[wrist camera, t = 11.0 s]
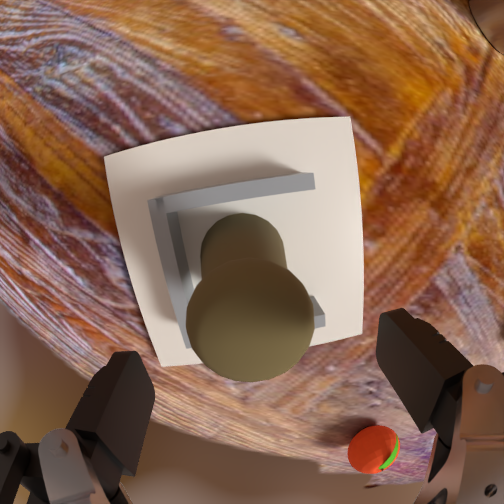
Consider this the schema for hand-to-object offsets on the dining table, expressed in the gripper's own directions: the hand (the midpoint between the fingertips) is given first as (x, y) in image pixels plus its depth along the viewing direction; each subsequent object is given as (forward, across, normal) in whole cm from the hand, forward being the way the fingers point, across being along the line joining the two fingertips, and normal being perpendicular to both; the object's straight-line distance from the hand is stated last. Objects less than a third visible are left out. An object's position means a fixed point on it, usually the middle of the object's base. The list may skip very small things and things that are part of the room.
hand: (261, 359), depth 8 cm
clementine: (+13, -12, +27) cm, 33 cm away
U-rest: (+13, 0, 0) cm, 13 cm away
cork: (+12, 0, 0) cm, 12 cm away
